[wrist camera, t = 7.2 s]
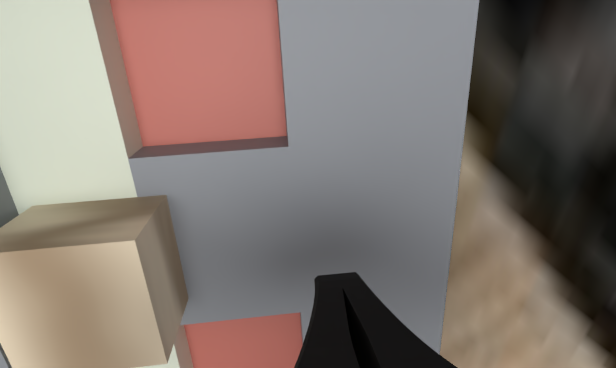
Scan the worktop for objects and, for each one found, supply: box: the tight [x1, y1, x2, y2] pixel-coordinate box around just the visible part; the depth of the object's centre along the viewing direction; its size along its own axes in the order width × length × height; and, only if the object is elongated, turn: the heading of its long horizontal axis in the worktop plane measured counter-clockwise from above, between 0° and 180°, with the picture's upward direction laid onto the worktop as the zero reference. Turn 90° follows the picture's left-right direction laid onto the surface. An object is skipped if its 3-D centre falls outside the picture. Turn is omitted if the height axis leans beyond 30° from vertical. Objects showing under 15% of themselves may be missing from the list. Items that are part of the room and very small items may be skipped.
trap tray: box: [0, 0, 479, 368], centre depth 15 cm, size 18×22×5 cm
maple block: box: [0, 195, 189, 368], centre depth 13 cm, size 5×5×4 cm
